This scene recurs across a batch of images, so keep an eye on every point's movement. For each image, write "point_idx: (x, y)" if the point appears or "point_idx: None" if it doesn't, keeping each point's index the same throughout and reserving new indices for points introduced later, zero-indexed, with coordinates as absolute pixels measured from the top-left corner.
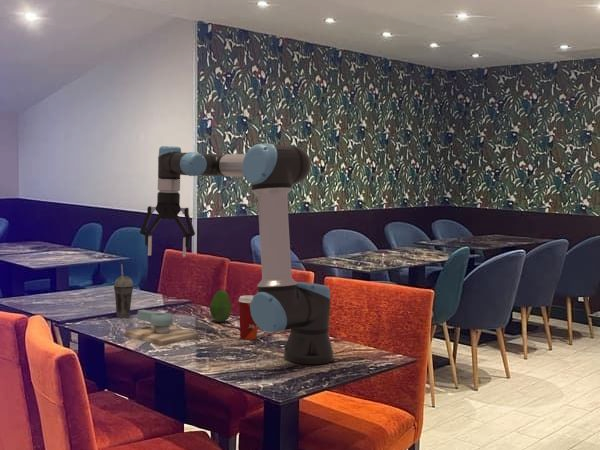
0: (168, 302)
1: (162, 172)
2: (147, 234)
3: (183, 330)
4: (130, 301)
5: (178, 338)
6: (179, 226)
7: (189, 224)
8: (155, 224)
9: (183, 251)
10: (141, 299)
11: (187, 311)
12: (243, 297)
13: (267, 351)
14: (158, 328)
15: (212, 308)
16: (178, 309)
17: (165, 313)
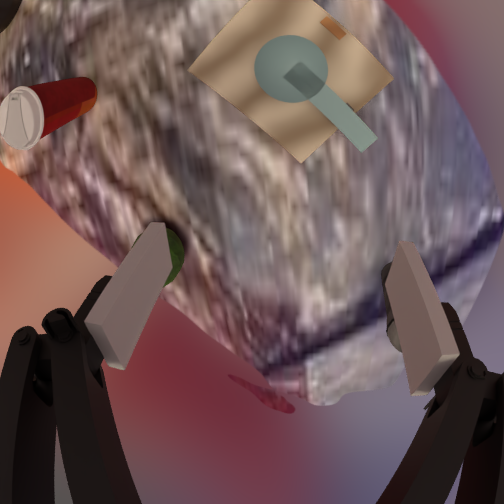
0: (297, 373)
1: None
2: (471, 370)
3: (230, 91)
4: (387, 295)
5: (235, 16)
6: (95, 442)
7: (2, 423)
8: (417, 487)
9: (145, 243)
10: (344, 385)
11: (255, 320)
12: (24, 108)
13: (46, 4)
14: None
15: (171, 245)
16: (275, 333)
17: (282, 92)
